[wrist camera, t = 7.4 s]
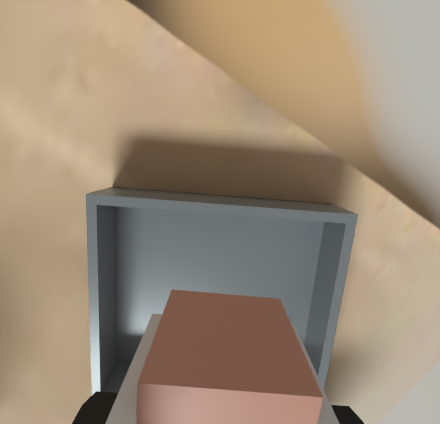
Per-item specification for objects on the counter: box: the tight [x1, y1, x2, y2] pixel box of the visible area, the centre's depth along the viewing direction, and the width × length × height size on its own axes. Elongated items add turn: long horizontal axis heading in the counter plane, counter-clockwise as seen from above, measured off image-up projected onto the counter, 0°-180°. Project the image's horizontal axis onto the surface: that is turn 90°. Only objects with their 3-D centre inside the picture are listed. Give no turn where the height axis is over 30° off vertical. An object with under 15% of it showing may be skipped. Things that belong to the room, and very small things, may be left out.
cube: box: [136, 289, 323, 424], centre depth 10 cm, size 5×5×5 cm
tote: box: [86, 187, 358, 395], centre depth 25 cm, size 20×22×5 cm
